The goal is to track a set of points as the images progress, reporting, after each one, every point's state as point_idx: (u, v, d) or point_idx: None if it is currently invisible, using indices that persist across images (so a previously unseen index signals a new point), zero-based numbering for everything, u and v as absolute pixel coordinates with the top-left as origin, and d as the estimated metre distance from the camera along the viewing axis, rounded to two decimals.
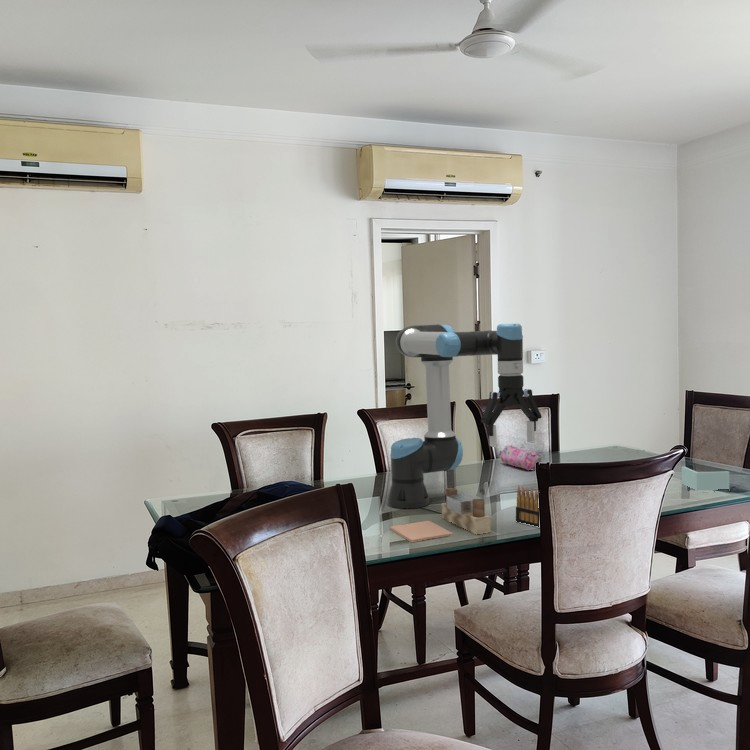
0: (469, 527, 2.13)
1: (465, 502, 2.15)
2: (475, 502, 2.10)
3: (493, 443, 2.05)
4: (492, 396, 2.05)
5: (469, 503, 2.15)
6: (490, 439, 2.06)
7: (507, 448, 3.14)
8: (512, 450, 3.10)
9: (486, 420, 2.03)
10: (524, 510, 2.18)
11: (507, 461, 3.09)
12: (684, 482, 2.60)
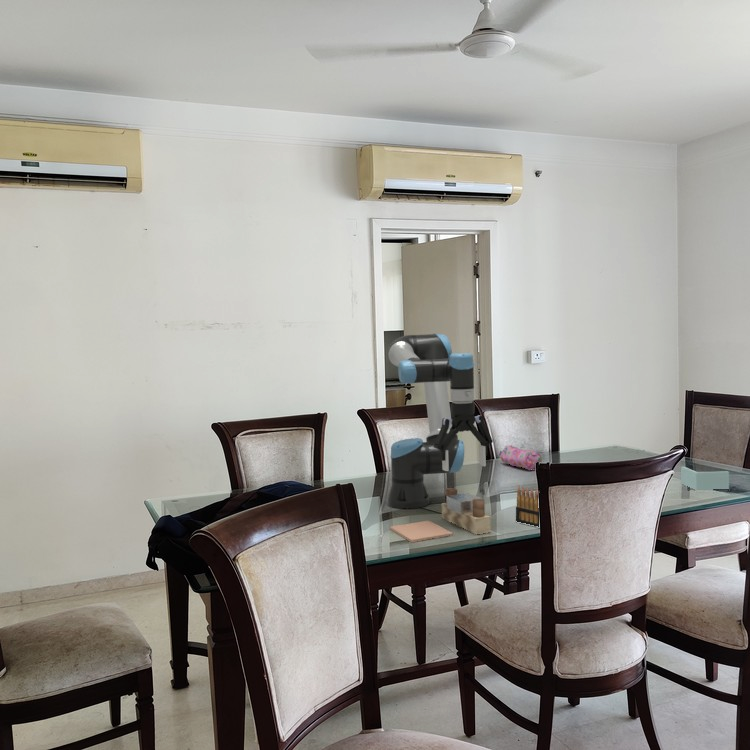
0: (469, 527, 2.13)
1: (465, 502, 2.15)
2: (475, 502, 2.10)
3: (445, 467, 2.16)
4: (444, 423, 2.15)
5: (469, 503, 2.15)
6: (443, 463, 2.17)
7: (507, 448, 3.14)
8: (512, 450, 3.10)
9: (438, 446, 2.14)
10: (524, 510, 2.18)
11: (507, 461, 3.09)
12: (684, 482, 2.60)
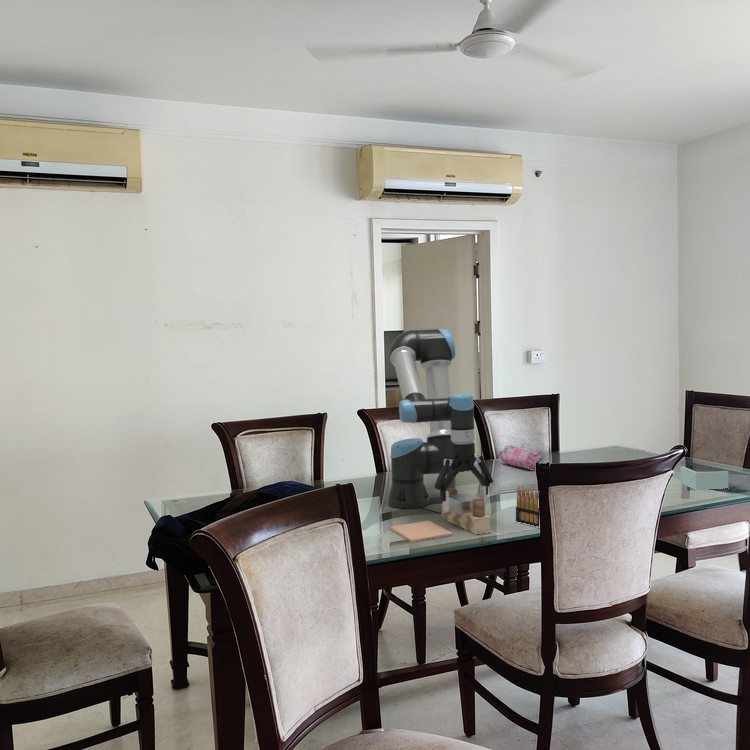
0: (469, 527, 2.13)
1: (465, 502, 2.15)
2: (475, 502, 2.10)
3: (446, 508, 2.16)
4: (445, 463, 2.16)
5: (469, 503, 2.15)
6: (443, 504, 2.18)
7: (507, 448, 3.14)
8: (513, 450, 3.10)
9: (439, 486, 2.14)
10: (524, 510, 2.18)
11: (508, 461, 3.09)
12: (683, 482, 2.60)
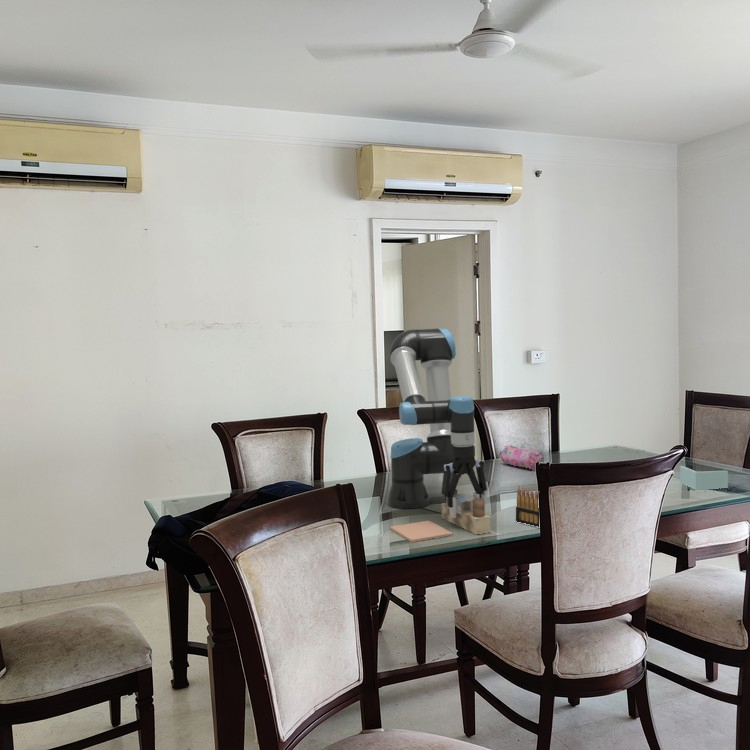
0: (469, 527, 2.13)
1: (465, 502, 2.15)
2: (475, 502, 2.10)
3: (453, 514, 2.17)
4: (445, 469, 2.16)
5: (469, 503, 2.15)
6: (450, 510, 2.19)
7: (507, 448, 3.14)
8: (513, 450, 3.10)
9: (445, 493, 2.16)
10: (524, 510, 2.18)
11: (508, 461, 3.09)
12: (683, 482, 2.61)
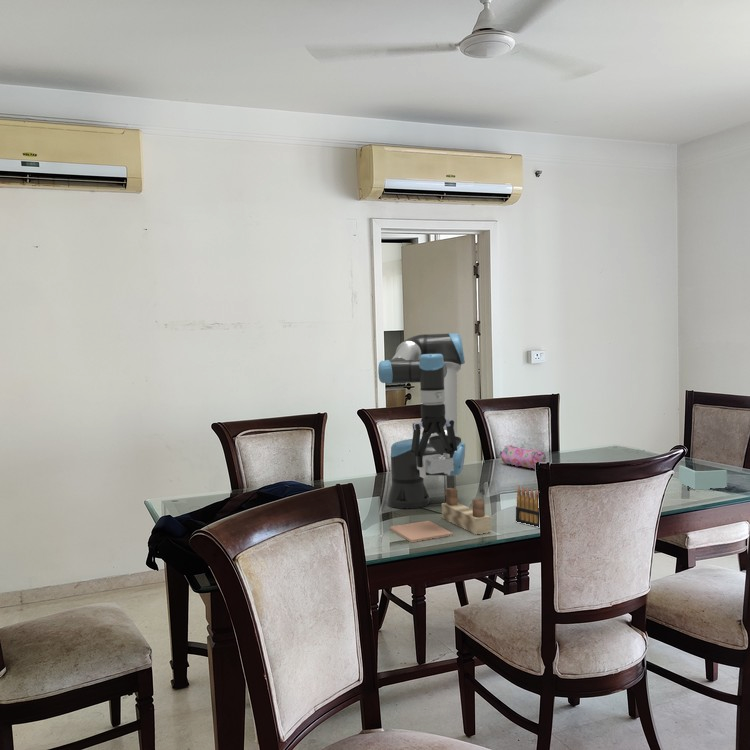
0: (469, 527, 2.13)
1: (435, 461, 2.10)
2: (475, 502, 2.10)
3: (423, 474, 2.12)
4: (415, 428, 2.11)
5: (439, 462, 2.10)
6: (420, 470, 2.14)
7: (507, 448, 3.14)
8: (514, 450, 3.10)
9: (415, 452, 2.10)
10: (524, 510, 2.18)
11: (509, 461, 3.09)
12: (682, 481, 2.62)
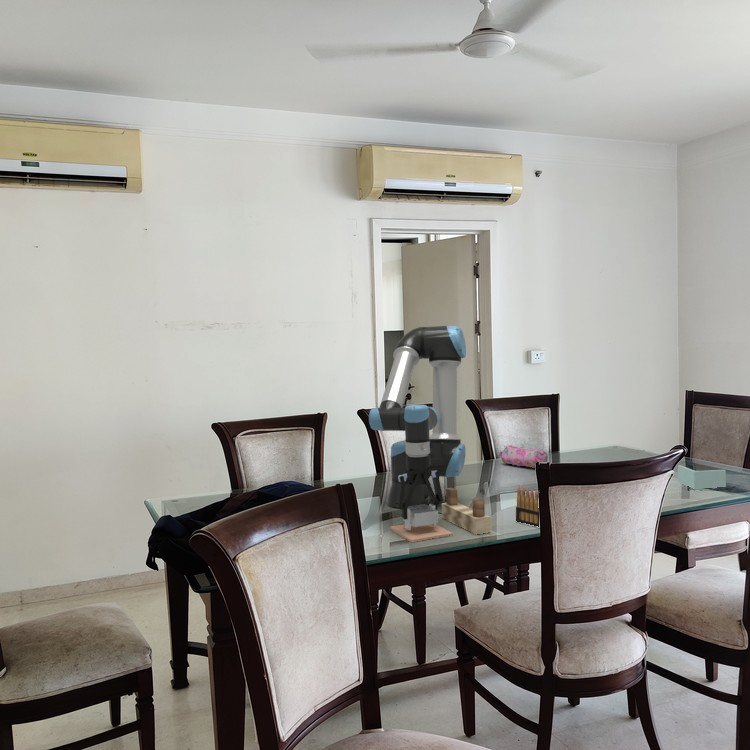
0: (469, 527, 2.13)
1: (419, 514, 2.09)
2: (475, 502, 2.10)
3: (407, 526, 2.12)
4: (400, 480, 2.10)
5: (423, 515, 2.09)
6: (405, 522, 2.13)
7: (507, 448, 3.13)
8: (515, 450, 3.10)
9: (399, 505, 2.10)
10: (524, 510, 2.18)
11: (511, 461, 3.09)
12: (681, 481, 2.62)
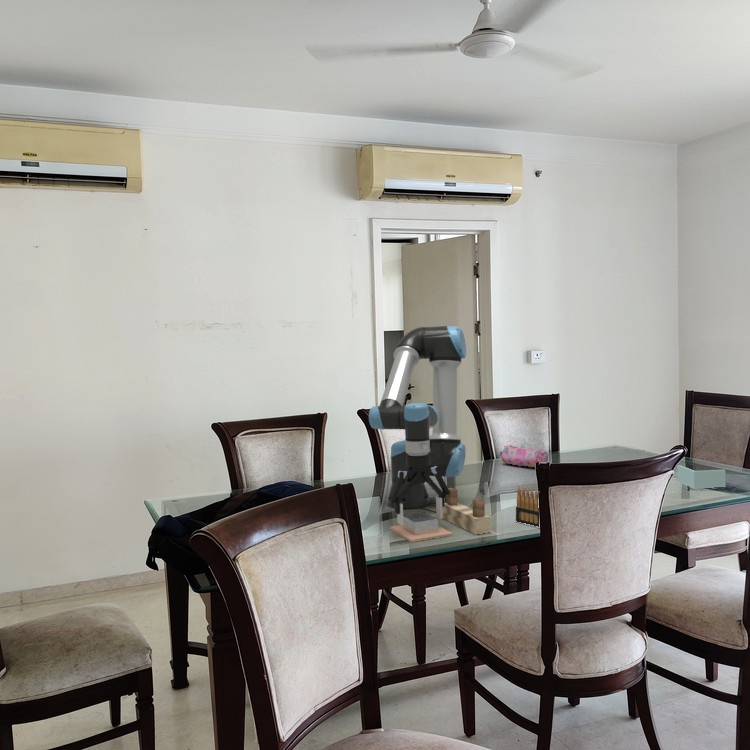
0: (469, 527, 2.13)
1: (420, 522, 2.09)
2: (475, 502, 2.10)
3: (400, 521, 2.11)
4: (399, 475, 2.10)
5: (423, 524, 2.09)
6: (398, 516, 2.12)
7: (507, 448, 3.13)
8: (515, 450, 3.10)
9: (392, 499, 2.09)
10: (524, 510, 2.18)
11: (511, 461, 3.09)
12: (680, 481, 2.62)
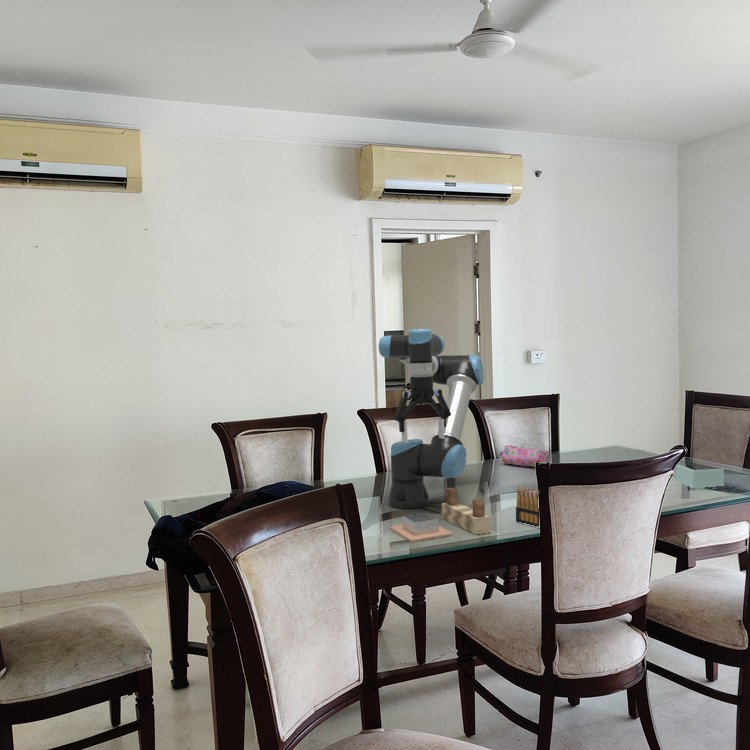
0: (469, 527, 2.13)
1: (420, 522, 2.09)
2: (475, 502, 2.10)
3: (404, 439, 2.23)
4: (403, 395, 2.23)
5: (423, 524, 2.09)
6: (402, 435, 2.24)
7: (508, 448, 3.13)
8: (516, 450, 3.10)
9: (397, 417, 2.21)
10: (524, 510, 2.18)
11: (512, 461, 3.09)
12: (679, 480, 2.63)
